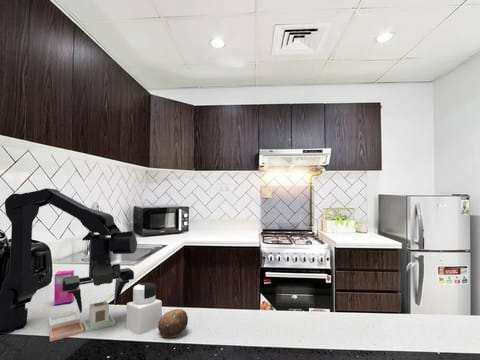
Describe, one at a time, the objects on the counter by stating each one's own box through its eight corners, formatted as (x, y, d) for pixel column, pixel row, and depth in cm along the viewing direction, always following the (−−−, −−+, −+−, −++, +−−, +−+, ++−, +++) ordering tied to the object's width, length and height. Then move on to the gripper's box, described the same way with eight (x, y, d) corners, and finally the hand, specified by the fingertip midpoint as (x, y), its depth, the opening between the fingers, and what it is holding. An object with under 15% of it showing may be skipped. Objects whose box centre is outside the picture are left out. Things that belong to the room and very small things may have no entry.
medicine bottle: (148, 320, 80) (148, 279, 82) (162, 326, 76) (162, 283, 77) (125, 329, 75) (126, 285, 76) (139, 336, 70) (139, 289, 72)
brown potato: (182, 311, 78) (176, 298, 75) (197, 329, 72) (191, 315, 69) (158, 331, 74) (150, 318, 71) (171, 352, 68) (164, 339, 65)
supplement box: (56, 301, 102) (57, 271, 103) (74, 299, 104) (75, 269, 105) (53, 306, 96) (54, 273, 98) (72, 303, 99) (73, 271, 100)
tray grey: (49, 330, 76) (49, 325, 76) (49, 321, 82) (49, 317, 82) (80, 322, 81) (80, 318, 81) (77, 315, 87) (77, 311, 87)
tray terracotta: (49, 343, 68) (49, 338, 68) (49, 332, 74) (49, 328, 74) (83, 334, 73) (83, 329, 73) (80, 325, 79) (80, 320, 79)
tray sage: (85, 333, 73) (85, 329, 73) (82, 324, 79) (82, 320, 79) (115, 325, 77) (115, 321, 77) (110, 318, 83) (110, 314, 83)
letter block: (91, 328, 75) (91, 308, 76) (89, 323, 79) (89, 303, 79) (108, 324, 78) (109, 304, 78) (105, 319, 81) (106, 300, 82)
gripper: (65, 262, 68) (62, 326, 67) (139, 253, 79) (138, 308, 78) (62, 257, 77) (60, 313, 76) (129, 250, 88) (129, 298, 87)
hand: (98, 308), depth 79 cm, fingers open, 9 cm apart
